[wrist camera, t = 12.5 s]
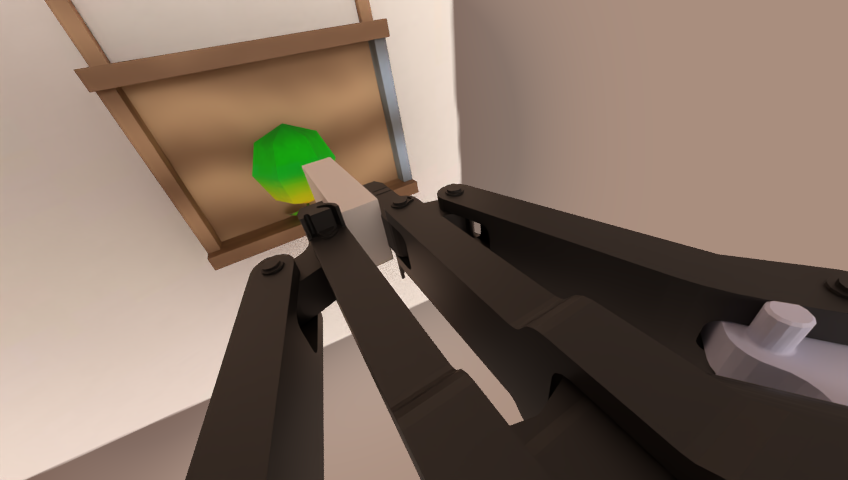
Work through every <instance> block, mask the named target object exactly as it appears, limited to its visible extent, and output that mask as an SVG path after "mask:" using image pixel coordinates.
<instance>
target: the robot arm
mask: <svg viewBox="0 0 848 480" xmlns="http://www.w3.org/2000/svg"><path fill="white" fill-rule="evenodd" d="M302 169H303V171H304V174H305V176H306V179H307V181H308V184H309V186H310V189H311V191H312V194H313V196H314V199H315V201H316V203H314V204H311V205H308V206H306V207H303V208H300V209H299V211H298V214H297V216H298V218H299V220H300V223H301V225H302V227H303V229H304V231H305V234H306V236H307V238H308V240H309V245H308V247H307V249H306V250H305V251H304V252H303V253H302V254H300V255H299V256H298V257H296V258H295V259H294V258H293V257H292V256H290V255H286V254H281V255H275V256H272V257H269V258H266V259H264V260H263V261H261V262H260V263H259V264H258V265H257V266H255V267H254V268H253V270H252V271H251V273H250V276H249V279H248V282H247V285H246V288H245V292H244V295H243V298H242V301H241V304H240V307H239V311H238V314H237V317H236V320H235V323H234V327H233V330H232V333H231V336H230V339H229V342H228V346H227V349H226V352H225V355H224V358H223V361H222V365H221V368H220V371H219V374H218V377H217V381H216V384H215V387H214V390H213V393H212V396H211V400H210V403H209V406H208V409H207V412H206V415H205V419H204V422H203V425H202V428H201V431H200V435H199V438H198V441H197V444H196V447H195V451H194V454H193V457H192V460H191V463H190V466H189V469H188V473H187V476H186V479H185V480H324V443H323V442H324V439H323V438H324V437H323V436H324V433H323V317H322V314H321V311H323V310H324V309H325V308H327V307H328V306H329V305H330V304H332V303H333V302H334V301H335V300H336V301H337V303H338V305H339V307H340V309H341V311H342V313H343V316H344V318H345V320H346V322H347V324H348V326H349V328H350V330H351V333H352V335H353V337H354V339H355V341H356V343H357V345H358V347H359V349H360V352H361V354H362V356H363V358H364V360H365V362H366V364H367V366H368V369H369V371H370V372H371V375H372V377H373V379H374V381H375V383H376V385H377V388H378V390H379V392H380V394H381V396H382V398H383V400H384V402H385V405H386V407H387V409H388V411H389V413H390V415H391V417H392V420H393V422H394V424H395V426H396V428H397V430H398V432H399V434H400V436H401V439H402V441H403V443H404V445H405V447H406V449H407V451H408V453H409V455H410V458H411V460H412V461H413V464H414V466H415V468H416V470H417V472H418V475H419V477H420V479H421V480H848V271H843V270H837V269H829V268H821V267H814V266H806V265H798V264H790V263H782V262H774V261H766V260H759V259H750V258H743V257H735V256H727V255H719V254H715V253H712V252H708V251H704V250H701V249H697V248H693V247H690V246H686V245H682V244H678V243H675V242H671V241H668V240H664V239H661V238H657V237H653V236H650V235H646V234H642V233H639V232H635V231H632V230H628V229H624V228H621V227H617V226H613V225H610V224H606V223H602V222H599V221H595V220H591V219H588V218H584V217H581V216H577V215H573V214H570V213H566V212H562V211H558V210H555V209H552V208H548V207H544V206H541V205H537V204H533V203H530V202H526V201H522V200H519V199H515V198H512V197H508V196H504V195H500V194H497V193H493V192H490V191H486V190H482V189H479V188H475V187H471V186H468V185H463V184H451V185H447V186H445V187H443V188H441V189H440V190H439V191H438V193H437V196H438V200H436V201H431V202H427V203H423V202H421V201H420V200H418V199H417V198H415V197H413V196H407V195H405V196H399V195H398V194H397V193H395V192H394V191H393V190H391V189H390V188H389V187H387V186H386V185H385V184H383V183H381V182H376V181H373V182H370V183H367V184H364V185H361V184H360V183H359V182H358V181H357V180H356V179H354V178H353V177H352V176H351V175H350V174H349V173H348V172H347V171H345V170H344V169H343V168H342V167H341V166H340V165H339V164H338V163H336V162H335V161H334V160H333V159H332V158H331V157H328V158H325V159H322V160H319V161H315V162H312V163H309V164H306V165H302ZM474 222H477V223H480V224H481V234H477V233H475V232H474ZM390 247H391V248H390ZM391 249H392V250H393V251H394V252H395V253H396V257H397V261H398V265H399V269H400V273H401V276H402V279H404V278H405V275H404V272H406V273H407V274H408V276H409V277H410V278H411V279H412V280H413V281H414V283H415V284H416V285H417V286H418V287H419V288H420V290H421V291H422V292H423V293H424V294H425V295H426V297H427V298H428V299H429V300H430V301H431V302H432V304H433V305H434V306H435V307H436V308H437V309H438V310H439V312H440V313H441V314H442V315H443V316H444V317H445V319H446V320H447V321H448V322H449V323H450V325H451V326H452V327H453V328H454V329H455V330H456V332H457V333H458V334H459V335H460V336H461V337H462V338H463V340H464V341H465V342H466V343H467V344H468V345H469V346H470V348H471V349H472V350H473V351H474V352H475V354H476V355H477V356H478V357H479V358H480V359H481V361H482V362H483V363H484V364H485V365H486V366H487V368H488V369H489V370H490V371H491V372H492V373H493V375H494V376H495V377H496V378H497V379H498V380H499V382H500V383H501V384H502V385H503V386H504V387H505V389H506V390H507V391H508V392H509V393H510V395H511V396H512V397H513V399H514V401H515V403H516V405H517V407H518V410H519V412H520V414H521V416H522V418H523V419H524V421H521V422H519V423H516V424H513V425H511V426H509V425H508V423H507V422H506V421H505V419H504V418H503V417H502V416H501V415H500V413H499V412H498V411H497V409H496V408H495V407H494V406H493V404H492V403H491V402H490V400H489V399H488V398H487V397H486V395H485V394H484V393H483V392H482V391H481V389H480V388H479V387H478V385H477V384H476V383H475V381H474V380H473V379H472V378H471V377H470V376H469V375H468V374H467V373H466V372H465V371H463V370H462V369H459V370H456V369H454V368H453V367H452V366H451V365H450V363H449V362H448V361H447V359H446V358H445V357H444V355H443V354H442V353H441V351H440V350H439V349H438V348H437V346H436V345H435V344H434V342H433V341H432V340H431V339H430V337H429V336H428V334H427V333H426V332H425V331H424V329H423V328H422V326H421V325H420V324H419V322H418V321H417V320H416V318H415V317H414V316H413V315H412V313H411V312H410V310H409V309H408V308H407V306H406V305H405V304H404V302H403V301H402V300H401V298H400V297H399V296H398V294H397V293H396V292H395V290H394V289H393V288H392V286H391V285H390V284H389V282H388V281H387V280H386V278H385V277H384V276H383V274H382V273H381V272H380V270H379V269H378V268H377V266H379V265H381V264H383V263H385V262H387V261H389V260H392V259H393V255H392V251H391Z"/></svg>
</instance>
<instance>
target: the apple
mask: <svg viewBox="0 0 848 480" xmlns="http://www.w3.org/2000/svg"><path fill="white" fill-rule="evenodd" d="M328 157H331V158H332V159H333V160H334V161H335V158H336V157H335V155H334V154H333V153H332V151H331V150H330V148H329V147H328V146H327V144H326V143H325V142H324V140H323V139H322V138H321V136H320V135H319V133H318V132H317V131H316V130H311V129H306V128H302V127H297V126H292V125H288V124H283V123H282V124H280V125H279V126H277V127H276V128H274V129H273V130H272V131H270V132H269V133H267V134H266V135H264V136H263V137H261V138H260V139H258V140H257V141H255V142H254V150H253V169H252V176H253V177H254V178H255V179H256V180H257V181H258V182H259V183H260V185H261V186H262V187H263V188H264V189H265V190H266V191H267V192H268V193H269V194H270V195H271V196H272V197H273V198H274V199H275V200H277V201H282V202H287V203H292V204H301V203H307V206H308V205H309V203H310V202H312V201H314V200H315V199H314V196H313V194H312V191H311V189H310V186H309V184H308V181H307V179H306V176H305V174H304V171H303V169H302V165H306V164H309V163H312V162H315V161H319V160H322V159H325V158H328ZM297 214H298V211H297V212H295V213H293V214H290V215H295V216H297Z"/></svg>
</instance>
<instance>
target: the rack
mask: <svg viewBox="0 0 848 480" xmlns="http://www.w3.org/2000/svg"><path fill="white" fill-rule="evenodd" d="M45 2H46V3H47V5H48V6H49V8H50V9H51V11H52V12H53V14H54V15H55V17H56V18H57V20H58V21H59V22H60V24H61V25H62V27H63V28H64V30H65V31H66V33H67V34H68V36H69V37H70V39H71V40H72V42H73V43H74V45H75V46H76V48H77V49H78V50H79V52H80V53H81V55H82V56H83V58H84V59H85V61H86V62H87V64H88V65H89V67H87V68H81V69H75V70H74V71H75V72H76V74H77V75H78V77H79V78H80V80H81V81H82V82H83V84H84V85H85V87H86V88H87V89H88V91H89V92H96V93H97V95H98V96H99V97H100V99H101V100H102V102H103V103H104V105H105V106H106V107H107V109H108V110H109V112H110V113H111V115H112V116H113V117H114V119H115V120H116V122H117V123H118V125H119V126H120V128H121V129H122V130H123V132H124V133H125V135H126V136H127V138H128V139H129V140H130V142H131V143H132V145H133V146H134V148H135V149H136V151H137V152H138V153H139V155H140V156H141V158H142V159H143V161H144V162H145V163H146V165H147V166H148V168H149V169H150V171H151V172H152V174H153V175H154V176H155V178H156V179H157V181H158V182H159V184H160V185H161V186H162V188H163V189H164V191H165V192H166V194H167V195H168V197H169V198H170V199H171V201H172V202H173V204H174V205H175V207H176V208H177V209H178V211H179V212H180V214H181V215H182V217H183V218H184V219H185V221H186V222H187V224H188V225H189V227H190V228H191V230H192V231H193V232H194V234H195V235H196V237H197V238H198V240H199V241H200V242H201V244H202V245H203V247H204V248H205V250H206V251H207V253H208V261H209V262H210V263H211V265H212V266H213V268H214V269H215V270H218V269H220V268H223V267H225V266H228V265H231V264H233V263H236V262H238V261H241V260H244V259H246V258H249V257H251V256H254V255H257V254H259V253H262V252H264V251H267V250H269V249H272V248H275V247H277V246H280V245H282V244H285V243H288V242H290V241H293V240H295V239H298V238H301V237H303V236H306V234H305V231H304V229H303V227H302V225H301V223H300V220H299V218H298V216H295V215H290V214H293V213H295V212H297V211H299V209H300V208H303V207H306V206H307V203H301V204H292V203H287V202H282V201H277V200H275V199H274V198H273V197H272V196H271V195H270V194H269V193H268V192H267V191H266V190H265V189H264V188H263V187H262V186H261V185H260V183H259V182H258V181H257V180H256V179H255V178H254V177H253V176H252V169H253V150H254V142H255V141H257V140H258V139H260V138H261V137H263V136H264V135H266V134H267V133H269V132H270V131H272V130H273V129H274V128H276V127H277V126H279V125H280V124H282V123H283V124H288V125H292V126H297V127H302V128H306V129H311V130H316V131H317V132H318V133H319V135H320V136H321V138H322V139H323V140H324V142H325V143H326V144H327V146H328V147H329V148H330V150H331V151H332V153H333V154H334V155H335V157H336V158H335V162H336V163H338V164H339V165H340V166H341V167H342V168H343V169H344V170H345V171H347V172H348V173H349V174H350V175H351V176H352V177H353V178H354V179H356V180H357V181H358V182H359V183H360V184H361V185H364V184H367V183H370V182H373V181H376V182H381V183H383V184H385V185H386V186H387V187H389V188H390V189H391V190H393V191H394V192H395V193H397V194H398V195H399V196H405V195H407V196H409V195H412V194H415V193H417V192H418V187H417V182H416V181H415V180H413V179H412V175H411V170H410V165H409V159H408V154H407V149H406V144H405V138H404V133H403V128H402V123H401V118H400V112H399V107H398V102H397V97H396V92H395V86H394V81H393V76H392V71H391V66H390V60H389V55H388V50H387V45H386V40H385V37H389V36H390V35H389V30H388V24H387V19H380V20H374V21H373V18H372V13H371V8H370V3H369V0H355V3H356V8H357V12H358V16H359V21H360V23H355V24H349V25H343V26H337V27H331V28H325V29H319V30H313V31H306V32H300V33H294V34H288V35H282V36H276V37H270V38H264V39H258V40H252V41H245V42H239V43H233V44H227V45H221V46H215V47H209V48H203V49H197V50H191V51H184V52H178V53H172V54H166V55H160V56H154V57H148V58H142V59H136V60H130V61H124V62H117V63H110V62H109V60H108V59H107V57H106V55H105V54H104V52H103V51H102V49H101V48H100V46H99V44H98V43H97V41H96V40H95V38H94V37H93V35H92V34H91V32H90V30H89V29H88V27H87V26H86V24H85V23H84V21H83V19H82V18H81V16H80V15H79V13H78V12H77V10H76V9H75V7H74V5H73V4H72V2H71V1H70V0H45ZM314 203H316V201H315V200H314V201H312V202H310V203H309V205H311V204H314Z"/></svg>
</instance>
